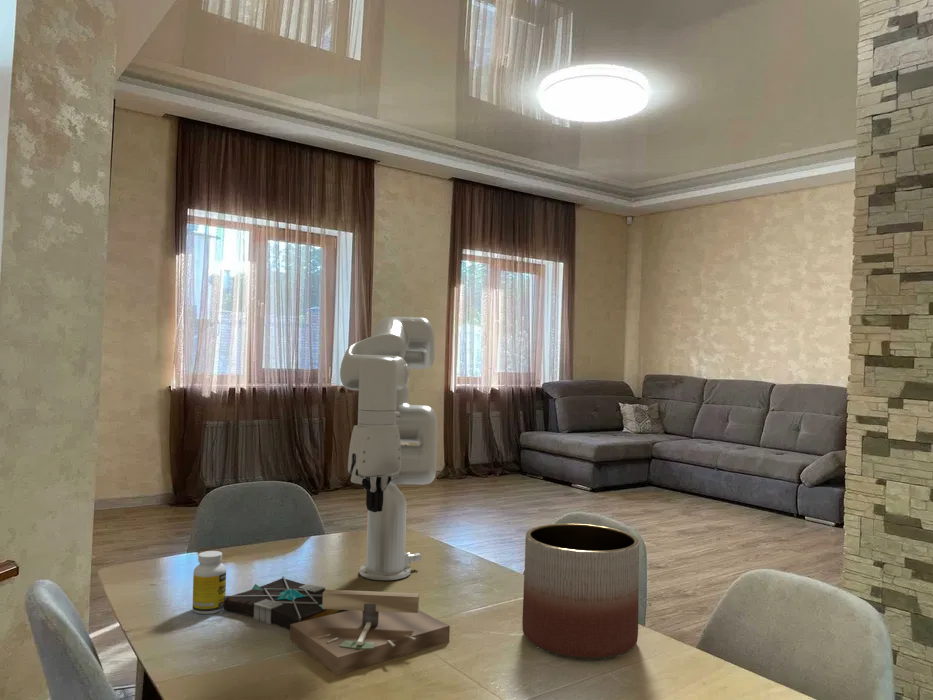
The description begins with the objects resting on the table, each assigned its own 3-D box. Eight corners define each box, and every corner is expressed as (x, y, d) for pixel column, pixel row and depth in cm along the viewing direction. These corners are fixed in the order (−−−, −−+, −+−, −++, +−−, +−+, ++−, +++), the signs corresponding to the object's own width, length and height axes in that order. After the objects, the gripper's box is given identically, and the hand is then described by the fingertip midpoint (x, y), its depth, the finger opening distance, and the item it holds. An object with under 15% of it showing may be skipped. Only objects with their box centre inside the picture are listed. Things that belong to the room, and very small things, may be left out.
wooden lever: (325, 618, 136) (326, 588, 136) (418, 622, 136) (419, 592, 136) (308, 643, 124) (309, 611, 124) (410, 648, 124) (411, 615, 124)
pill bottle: (215, 616, 145) (217, 559, 145) (186, 614, 146) (187, 557, 146) (230, 605, 151) (232, 550, 151) (202, 603, 152) (203, 548, 152)
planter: (568, 610, 153) (570, 517, 154) (659, 642, 138) (662, 538, 138) (498, 637, 138) (501, 533, 138) (592, 676, 122) (595, 559, 122)
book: (222, 613, 148) (222, 589, 148) (281, 591, 162) (282, 569, 162) (299, 637, 137) (299, 610, 137) (355, 611, 151) (356, 587, 151)
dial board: (396, 613, 149) (396, 598, 149) (455, 644, 134) (455, 627, 134) (289, 640, 134) (290, 623, 134) (342, 679, 119) (343, 659, 119)
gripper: (397, 415, 150) (394, 502, 150) (334, 418, 140) (331, 511, 140) (418, 418, 144) (415, 509, 144) (354, 422, 134) (351, 519, 134)
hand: (374, 510), depth 142 cm, fingers closed
